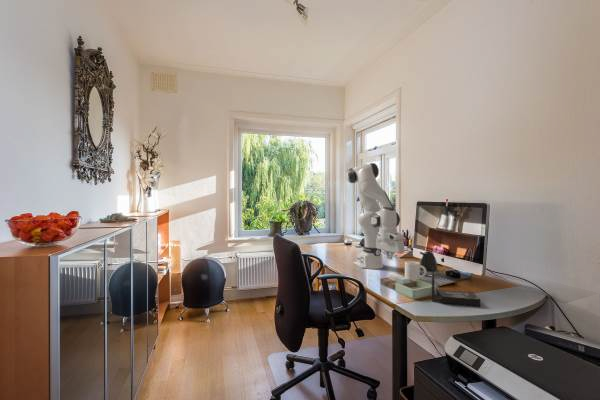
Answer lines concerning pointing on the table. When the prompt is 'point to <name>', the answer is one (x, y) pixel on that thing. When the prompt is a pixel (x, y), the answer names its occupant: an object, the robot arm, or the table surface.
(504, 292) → the table surface
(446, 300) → the black rod on base
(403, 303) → the table surface
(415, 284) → the walnut board
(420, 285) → the tray
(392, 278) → the tile rear
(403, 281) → the tile front
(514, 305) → the table surface
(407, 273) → the mug
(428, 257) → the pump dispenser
